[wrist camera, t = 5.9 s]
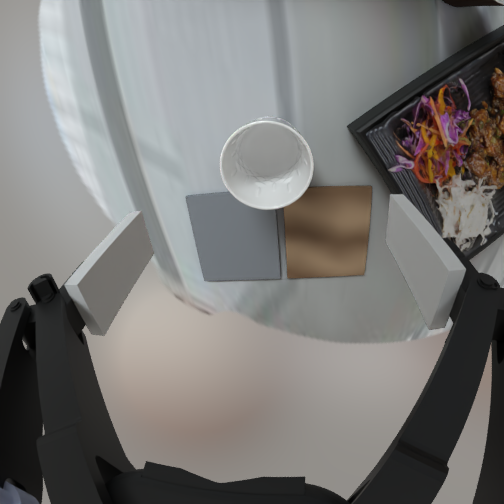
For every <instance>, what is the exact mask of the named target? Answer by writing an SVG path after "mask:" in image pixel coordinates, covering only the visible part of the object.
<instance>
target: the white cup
mask: <svg viewBox="0 0 504 504" xmlns="http://www.w3.org/2000/svg"><path fill="white" fill-rule="evenodd" d="M313 171H314V161H313V156H312V152H311V150H310V148H309V146H308V144H307V142H306V141H305V139H304V138H303V137H302V136H301V134H300V133H299V132H298V130H297V129H296V128H294V127H293V126H292V125H291V124H290V123H288V122H287V121H285V120H284V119H280V118H277V117H273V116H269V117H261V118H258V119H255V120H253V121H251V122H249V123H247V124H246V125H244V126H243V127H241V128H240V129H238V130H237V131H235V132H234V133H233V134H232V135H231V136H230V138H229V139H228V140H227V142H226V143H225V145H224V147H223V150H222V152H221V156H220V172H221V177H222V180H223V182H224V184H225V186H226V188H227V189H228V190H229V192H230V193H231V194H232V195H233V196H234V197H235V198H236V199H237V200H239V201H240V202H242V203H243V204H245V205H247V206H250V207H253V208H256V209H262V210H273V209H279V208H283V207H285V206H288V205H290V204H292V203H293V202H295V201H296V200H298V199H299V198H300V197H301V196H302V195H303V194H304V193H305V191H306V190H307V188H308V187H309V185H310V182H311V180H312V176H313Z"/></svg>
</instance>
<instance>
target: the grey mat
mask: <svg viewBox="0 0 504 504" xmlns="http://www.w3.org/2000/svg"><path fill="white" fill-rule="evenodd" d="M186 201H187V206H188V211H189V216H190V220H191V225H192V229H193V234H194V238H195V243H196V247H197V252H198V256H199V260H200V265H201V269H202V273H203V277H204V281H221V280H257V279H280V261H279V246H278V232H277V219H276V209H273V210H262V209H256V208H253V207H250V206H247V205H245V204H243V203H242V202H240V201H239V200H237V199H236V198H235V197H234V196H233V195H232V194H231V193H230V192H220V193H209V194H198V195H188V196H186Z"/></svg>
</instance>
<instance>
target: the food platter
mask: <svg viewBox="0 0 504 504" xmlns="http://www.w3.org/2000/svg"><path fill="white" fill-rule="evenodd" d="M466 97H467V98H466ZM418 111H419V112H418ZM347 127H348V128H349V130H350V131H351V132H352V134H353V135H354V136H355V138H356V139H357V141H358V142H359V144H360V145H361V146H362V148H363V149H364V151H365V152H366V154H367V155H368V157H369V158H370V160H371V161H372V163H373V164H374V166H375V167H376V169H377V170H378V172H379V173H380V175H381V176H382V178H383V180H384V181H385V183H386V184H387V186H388V188H389V189H390V191H391V193H392V194H403V195H404V196H405V197H406V198H407V199H408V200H409V201H410V202H411V203H412V204H413V205H414V206H415V207H416V209H417V210H418V211H419V212H420V213H421V214H422V215H423V216H424V218H425V219H426V220H427V221H428V222H429V223H430V224H431V226H432V227H433V228H434V229H435V230H436V231H437V233H438V234H439V235H440V236H441V238H448V239H449V240H451V241H452V242H454V243H455V244H456V245H457V246H458V247H459V249H460V250H461V252H463V254H464V255H465V257H467V259H468V260H470V259H471V258H473V257H474V256H475V255H477V254H478V253H479V252H481V251H482V250H483V249H485V248H486V247H487V246H489V245H490V244H491V243H492V242H494V241H495V240H496V239H497V238H499V237H500V236H501V235H502V234H504V25H503V26H501V27H499V28H498V29H496V30H494V31H492V32H491V33H489V34H487V35H485V36H484V37H482V38H480V39H479V40H477V41H475V42H474V43H472V44H470V45H469V46H467V47H465V48H464V49H462V50H460V51H459V52H457V53H455V54H454V55H452V56H451V57H449V58H447V59H446V60H444V61H443V62H441V63H439V64H438V65H436V66H435V67H433V68H432V69H430V70H428V71H427V72H425V73H424V74H422V75H421V76H419V77H418V78H416V79H415V80H413V81H412V82H410V83H409V84H407V85H406V86H404V87H403V88H401V89H400V90H398V91H397V92H395V93H394V94H392V95H391V96H389V97H388V98H386V99H385V100H383V101H382V102H381V103H379V104H378V105H376V106H375V107H373V108H372V109H370V110H369V111H368V112H366V113H365V114H363V115H362V116H360V117H359V118H358V119H356V120H355V121H353V122H352V123H351V124H349V125H348V126H347ZM475 140H476V141H475ZM501 149H502V150H501ZM428 198H429V199H428ZM453 205H454V206H453Z"/></svg>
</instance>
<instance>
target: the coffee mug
mask: <svg viewBox="0 0 504 504" xmlns="http://www.w3.org/2000/svg"><path fill="white" fill-rule="evenodd" d="M442 1H444V2H445V3H447V4H449V5H451V6H454V7H467V6H504V0H442Z"/></svg>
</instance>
